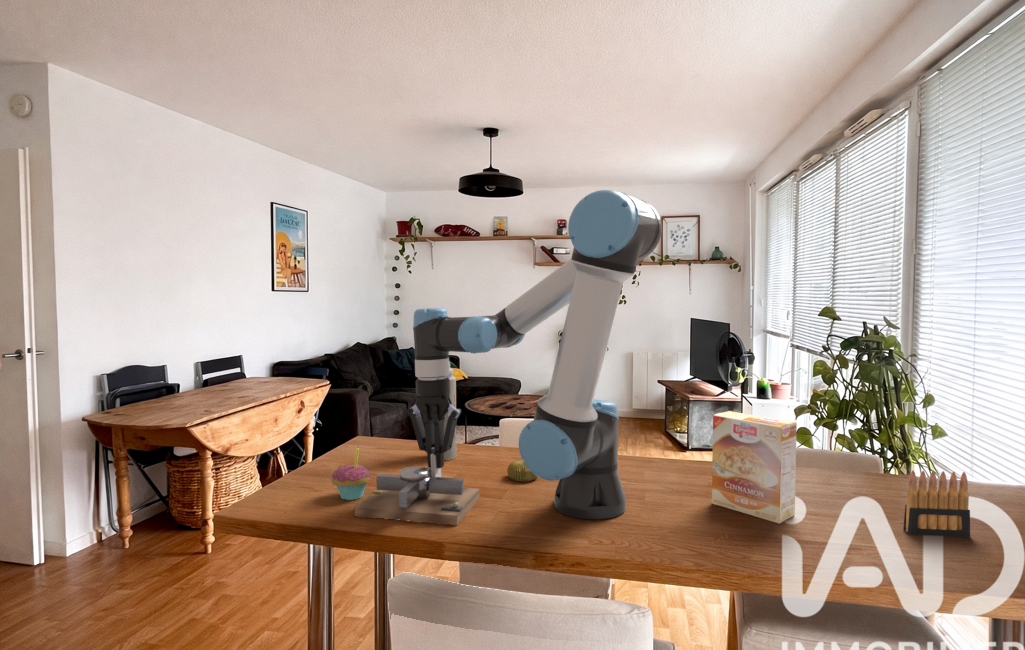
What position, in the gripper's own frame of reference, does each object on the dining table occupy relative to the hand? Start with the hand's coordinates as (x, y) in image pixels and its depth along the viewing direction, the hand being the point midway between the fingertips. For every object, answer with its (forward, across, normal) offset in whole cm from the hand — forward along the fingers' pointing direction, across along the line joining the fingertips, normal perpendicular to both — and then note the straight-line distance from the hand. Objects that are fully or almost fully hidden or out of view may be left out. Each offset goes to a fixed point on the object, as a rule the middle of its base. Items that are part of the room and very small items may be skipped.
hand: (436, 481), depth 130 cm
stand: (+3, 0, +7) cm, 8 cm away
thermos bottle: (+4, +14, -28) cm, 32 cm away
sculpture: (+4, -14, -19) cm, 24 cm away
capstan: (+1, 0, +7) cm, 7 cm away
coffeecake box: (+5, -66, -16) cm, 68 cm away
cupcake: (+3, +18, +7) cm, 20 cm away
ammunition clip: (+6, -98, -16) cm, 99 cm away
